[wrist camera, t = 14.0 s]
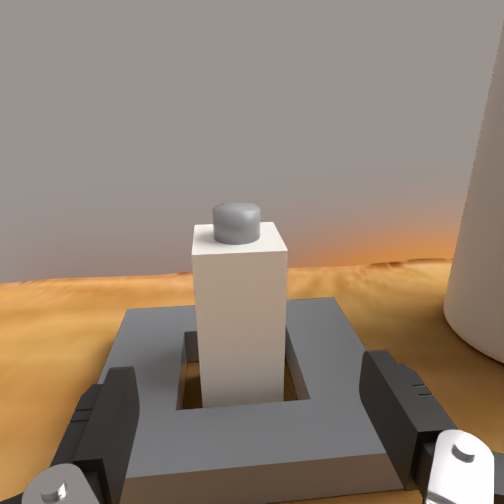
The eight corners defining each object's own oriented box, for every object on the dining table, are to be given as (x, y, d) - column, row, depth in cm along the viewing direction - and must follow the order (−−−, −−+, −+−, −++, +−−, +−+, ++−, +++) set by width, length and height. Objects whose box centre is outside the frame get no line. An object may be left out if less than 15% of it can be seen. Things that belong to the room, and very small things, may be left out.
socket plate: (331, 324, 31) (333, 297, 30) (419, 487, 18) (428, 448, 17) (131, 336, 29) (127, 309, 28) (68, 524, 16) (56, 484, 15)
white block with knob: (270, 367, 26) (273, 196, 21) (282, 419, 22) (289, 219, 17) (204, 373, 25) (193, 199, 21) (204, 426, 21) (189, 223, 17)
